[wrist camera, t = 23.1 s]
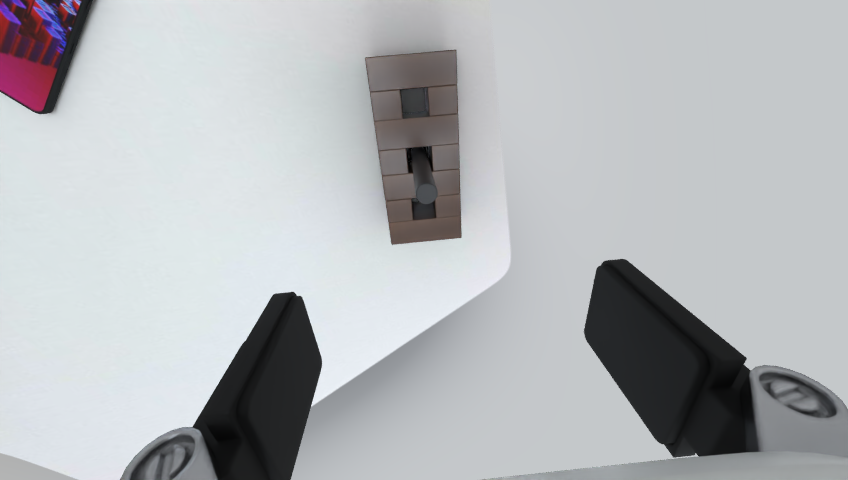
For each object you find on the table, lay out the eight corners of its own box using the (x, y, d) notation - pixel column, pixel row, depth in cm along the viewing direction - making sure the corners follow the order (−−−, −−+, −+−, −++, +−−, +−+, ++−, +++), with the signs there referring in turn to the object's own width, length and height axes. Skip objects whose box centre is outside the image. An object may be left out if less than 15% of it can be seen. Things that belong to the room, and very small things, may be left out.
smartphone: (-62, 55, 27) (-24, -132, 22) (-49, 55, 28) (-9, -125, 23) (44, 119, 29) (99, -36, 25) (53, 118, 30) (108, -32, 25)
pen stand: (370, 60, 30) (364, 57, 25) (448, 53, 30) (456, 49, 25) (392, 224, 37) (391, 244, 33) (454, 218, 38) (461, 237, 33)
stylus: (409, 144, 33) (414, 184, 21) (424, 142, 33) (437, 182, 21) (411, 158, 34) (416, 205, 22) (425, 157, 34) (438, 203, 22)
